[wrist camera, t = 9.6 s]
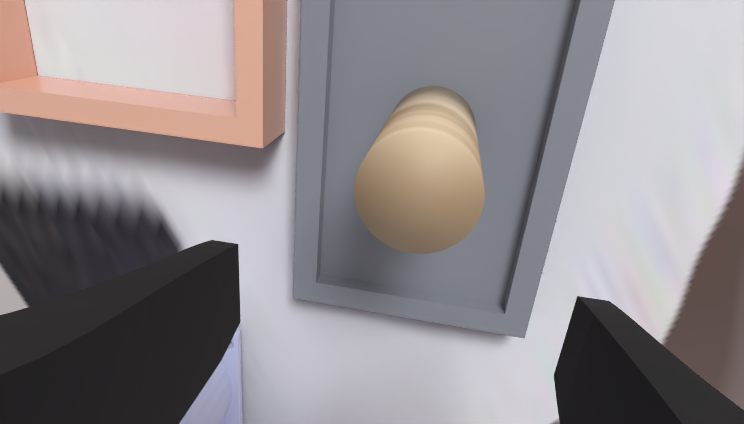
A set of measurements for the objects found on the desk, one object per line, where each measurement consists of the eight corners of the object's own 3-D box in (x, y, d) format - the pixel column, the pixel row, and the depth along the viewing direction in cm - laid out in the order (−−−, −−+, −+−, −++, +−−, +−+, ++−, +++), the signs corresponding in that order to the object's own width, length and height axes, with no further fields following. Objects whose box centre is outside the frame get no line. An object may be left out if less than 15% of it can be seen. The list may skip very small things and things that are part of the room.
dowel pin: (467, 175, 19) (472, 262, 13) (385, 164, 19) (349, 243, 13) (482, 91, 18) (496, 141, 11) (394, 81, 18) (359, 123, 12)
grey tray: (520, 317, 22) (524, 338, 21) (302, 280, 23) (292, 298, 22) (628, -104, 15) (645, -114, 14) (318, -127, 17) (305, -138, 15)
